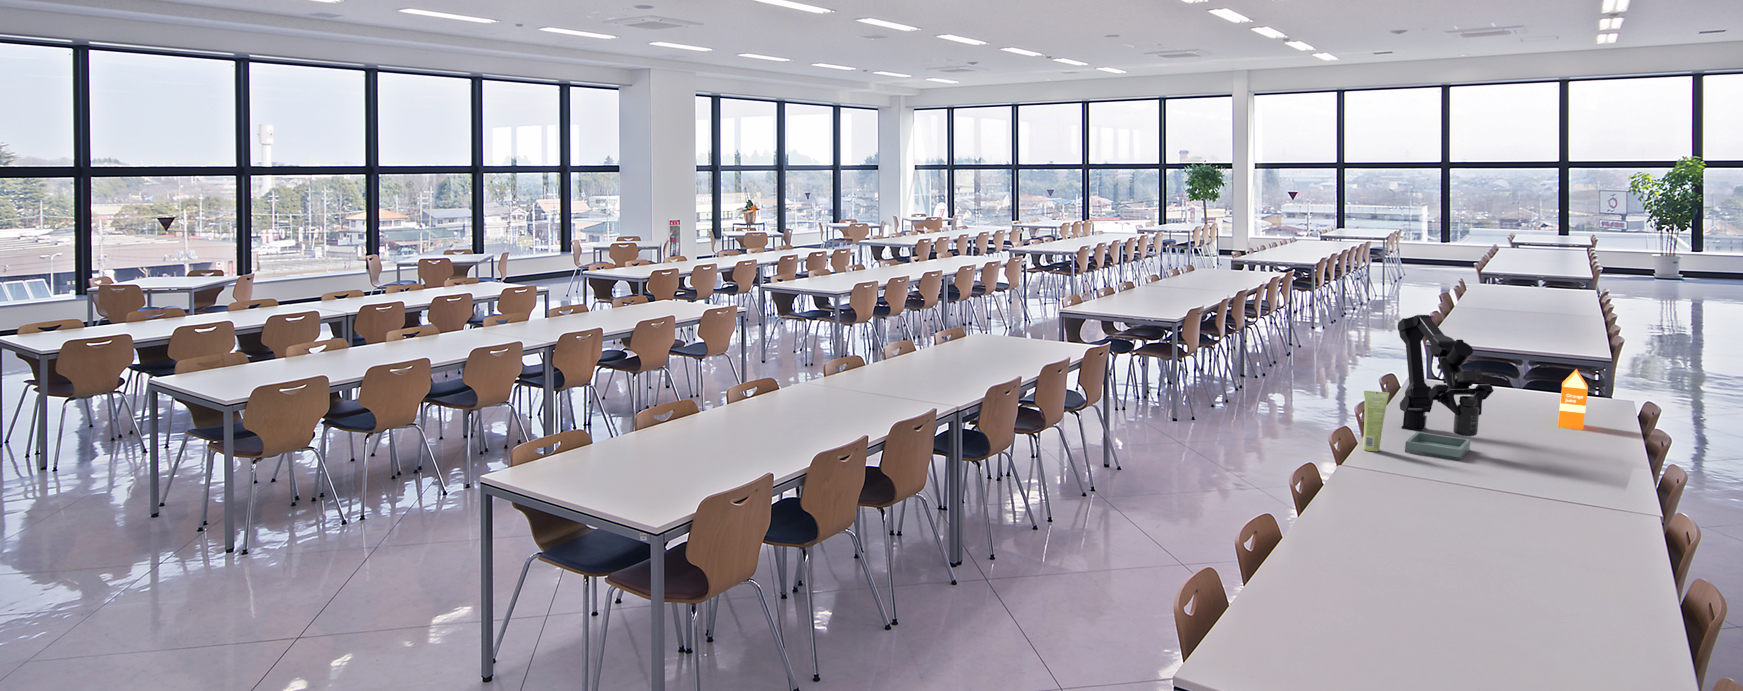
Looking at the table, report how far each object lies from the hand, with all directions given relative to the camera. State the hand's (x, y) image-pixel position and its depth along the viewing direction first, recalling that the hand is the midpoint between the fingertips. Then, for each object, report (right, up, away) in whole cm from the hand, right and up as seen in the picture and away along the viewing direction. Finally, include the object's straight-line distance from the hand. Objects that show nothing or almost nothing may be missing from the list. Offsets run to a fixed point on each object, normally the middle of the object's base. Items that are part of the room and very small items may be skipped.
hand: (1469, 414), depth 345 cm
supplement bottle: (0, -6, +3) cm, 7 cm away
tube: (-28, -12, +8) cm, 31 cm away
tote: (-7, -12, +6) cm, 15 cm away
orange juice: (+58, -7, +40) cm, 71 cm away
